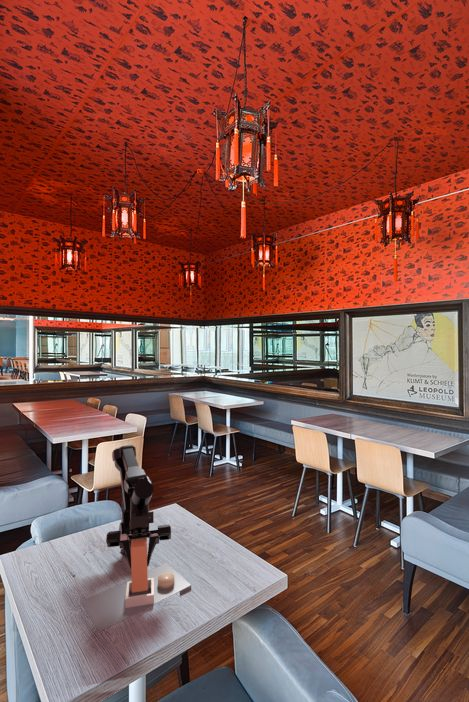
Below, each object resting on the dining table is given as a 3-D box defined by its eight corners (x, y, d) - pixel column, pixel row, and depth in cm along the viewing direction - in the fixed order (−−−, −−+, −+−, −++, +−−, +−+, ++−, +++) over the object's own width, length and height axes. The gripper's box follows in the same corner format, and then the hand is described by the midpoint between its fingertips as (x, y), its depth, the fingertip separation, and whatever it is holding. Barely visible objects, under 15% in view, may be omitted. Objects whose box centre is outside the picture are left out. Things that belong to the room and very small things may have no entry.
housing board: (80, 604, 107) (80, 592, 107) (166, 565, 125) (166, 555, 125) (99, 636, 95) (98, 622, 95) (191, 588, 113) (190, 577, 113)
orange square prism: (132, 582, 110) (131, 539, 110) (147, 580, 111) (146, 537, 111) (131, 592, 106) (130, 547, 105) (147, 590, 107) (146, 545, 106)
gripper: (106, 505, 110) (102, 564, 99) (170, 498, 114) (172, 554, 103) (109, 519, 117) (106, 575, 107) (169, 512, 122) (171, 565, 111)
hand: (139, 567), depth 107 cm, fingers closed on orange square prism, 4 cm apart
